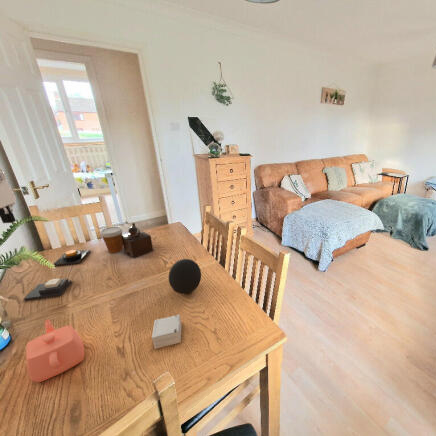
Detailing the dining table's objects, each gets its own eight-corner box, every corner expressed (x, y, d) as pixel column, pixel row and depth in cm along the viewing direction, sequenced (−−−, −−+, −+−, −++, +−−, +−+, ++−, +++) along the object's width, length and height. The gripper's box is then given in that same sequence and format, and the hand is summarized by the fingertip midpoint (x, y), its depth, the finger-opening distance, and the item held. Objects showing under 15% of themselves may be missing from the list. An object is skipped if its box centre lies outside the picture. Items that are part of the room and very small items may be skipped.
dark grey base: (24, 301, 91) (21, 294, 90) (39, 286, 99) (37, 280, 98) (60, 296, 95) (57, 290, 93) (71, 282, 103) (69, 276, 101)
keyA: (45, 288, 94) (44, 285, 94) (50, 283, 98) (49, 279, 97) (56, 287, 96) (55, 283, 95) (61, 281, 99) (60, 278, 98)
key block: (53, 266, 112) (51, 261, 111) (67, 253, 123) (65, 249, 122) (79, 263, 115) (77, 259, 114) (90, 251, 126) (88, 247, 125)
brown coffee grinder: (122, 252, 126) (114, 221, 120) (144, 244, 135) (138, 215, 128) (137, 262, 119) (129, 229, 112) (159, 253, 127) (153, 222, 120)
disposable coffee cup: (101, 255, 123) (95, 234, 118) (110, 246, 131) (104, 226, 127) (122, 253, 125) (117, 233, 121) (129, 245, 134) (125, 225, 129)
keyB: (64, 257, 116) (63, 254, 115) (68, 253, 119) (67, 250, 119) (74, 256, 117) (73, 253, 116) (78, 252, 120) (77, 249, 120)
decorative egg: (186, 279, 109) (182, 250, 103) (208, 286, 105) (205, 257, 99) (164, 295, 98) (158, 264, 92) (188, 304, 94) (183, 272, 88)
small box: (157, 330, 82) (154, 319, 80) (182, 325, 85) (180, 313, 83) (153, 349, 75) (151, 337, 73) (181, 343, 78) (179, 331, 76)
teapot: (33, 399, 61) (17, 371, 57) (31, 353, 72) (18, 327, 68) (90, 369, 69) (79, 342, 65) (80, 331, 80) (71, 307, 76)
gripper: (-7, 174, 96) (11, 216, 103) (-42, 183, 83) (-18, 230, 90) (17, 173, 98) (33, 215, 105) (-13, 182, 85) (8, 229, 92)
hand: (9, 222), depth 97 cm, fingers closed
